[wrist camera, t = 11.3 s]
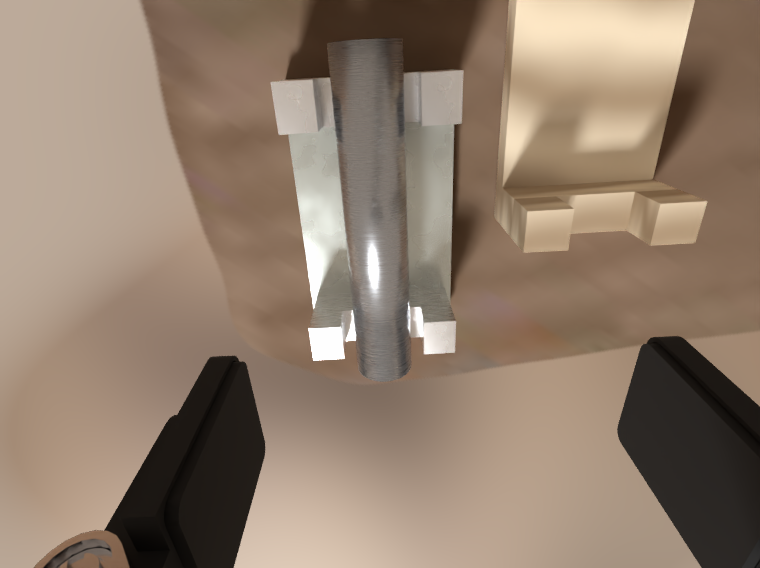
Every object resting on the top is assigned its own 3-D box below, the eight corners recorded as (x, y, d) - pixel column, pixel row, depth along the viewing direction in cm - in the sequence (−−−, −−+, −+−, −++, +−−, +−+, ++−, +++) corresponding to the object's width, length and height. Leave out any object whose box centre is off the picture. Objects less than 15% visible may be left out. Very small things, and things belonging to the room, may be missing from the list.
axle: (331, 45, 22) (321, 42, 19) (401, 41, 22) (404, 36, 19) (359, 349, 30) (356, 382, 27) (410, 347, 30) (412, 380, 27)
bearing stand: (514, -84, 22) (564, -137, 17) (698, -96, 22) (813, -154, 16) (494, 216, 30) (523, 252, 24) (632, 208, 30) (694, 242, 24)
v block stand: (285, 79, 26) (262, 82, 20) (451, 69, 26) (471, 69, 20) (318, 313, 33) (307, 360, 28) (446, 306, 33) (461, 352, 28)
